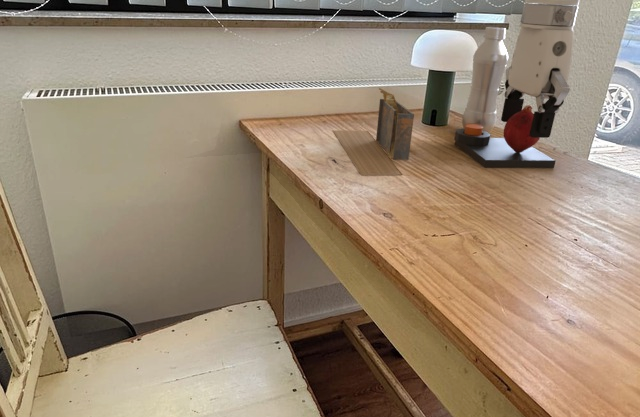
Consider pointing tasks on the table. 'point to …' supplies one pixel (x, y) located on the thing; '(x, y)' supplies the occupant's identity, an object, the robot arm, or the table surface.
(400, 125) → the ruin model on sheet
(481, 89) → the plastic bottle
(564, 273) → the table surface
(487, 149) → the scale
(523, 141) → the onion
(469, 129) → the button
